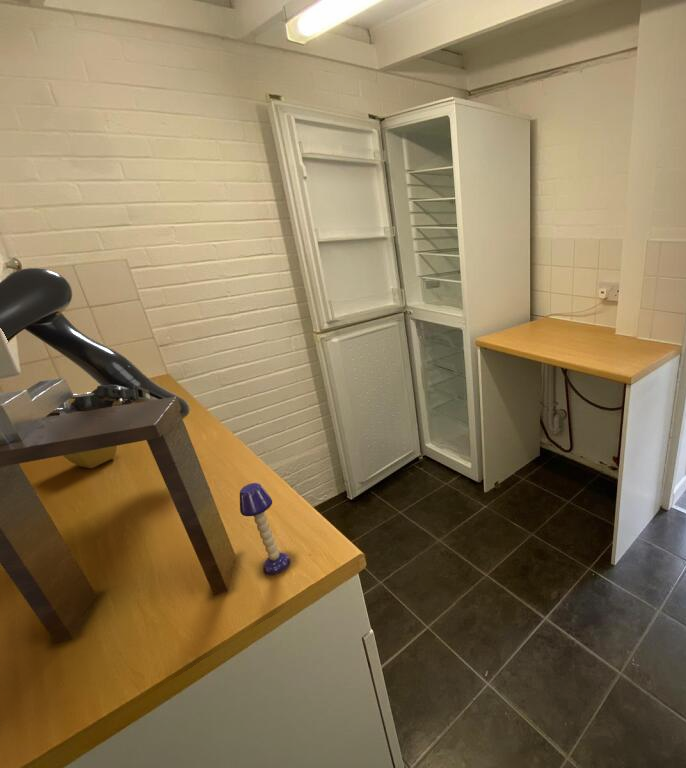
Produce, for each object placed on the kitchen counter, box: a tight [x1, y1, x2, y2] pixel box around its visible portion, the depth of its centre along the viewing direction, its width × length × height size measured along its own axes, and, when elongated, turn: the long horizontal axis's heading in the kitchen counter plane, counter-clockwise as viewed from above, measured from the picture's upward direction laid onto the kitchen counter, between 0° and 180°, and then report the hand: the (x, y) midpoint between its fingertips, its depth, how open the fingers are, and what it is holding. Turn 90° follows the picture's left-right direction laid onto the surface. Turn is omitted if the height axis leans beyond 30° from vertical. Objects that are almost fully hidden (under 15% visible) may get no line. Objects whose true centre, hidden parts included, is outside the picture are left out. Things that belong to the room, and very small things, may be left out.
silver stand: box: [0, 377, 74, 445], centre depth 57 cm, size 5×16×5 cm, turn 23°
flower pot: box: [62, 445, 118, 469], centre depth 105 cm, size 9×9×9 cm
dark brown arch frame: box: [0, 397, 237, 644], centre depth 62 cm, size 22×10×32 cm, turn 113°
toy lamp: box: [239, 482, 291, 576], centre depth 71 cm, size 5×5×17 cm
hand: (66, 396), depth 66 cm, fingers open, 8 cm apart
